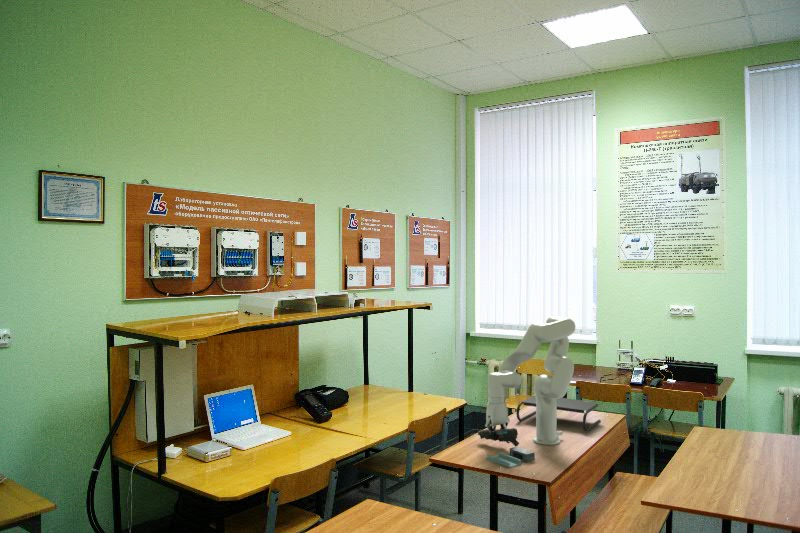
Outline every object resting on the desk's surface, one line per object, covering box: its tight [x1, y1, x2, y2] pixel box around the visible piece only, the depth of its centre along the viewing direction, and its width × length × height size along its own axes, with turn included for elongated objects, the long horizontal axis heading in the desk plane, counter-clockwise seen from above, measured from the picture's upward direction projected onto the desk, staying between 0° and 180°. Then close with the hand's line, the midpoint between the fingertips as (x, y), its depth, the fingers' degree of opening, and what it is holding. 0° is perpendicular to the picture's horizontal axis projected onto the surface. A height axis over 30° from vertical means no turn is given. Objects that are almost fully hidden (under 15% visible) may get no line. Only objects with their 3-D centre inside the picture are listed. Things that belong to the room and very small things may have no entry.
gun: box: [477, 427, 520, 447], centre depth 265 cm, size 4×20×10 cm, turn 46°
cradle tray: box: [486, 451, 522, 469], centre depth 243 cm, size 7×13×2 cm, turn 34°
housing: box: [509, 446, 536, 463], centre depth 248 cm, size 5×10×4 cm, turn 34°
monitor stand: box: [515, 395, 601, 433], centre depth 308 cm, size 37×28×11 cm
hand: (498, 438), depth 265 cm, fingers closed on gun, 5 cm apart
